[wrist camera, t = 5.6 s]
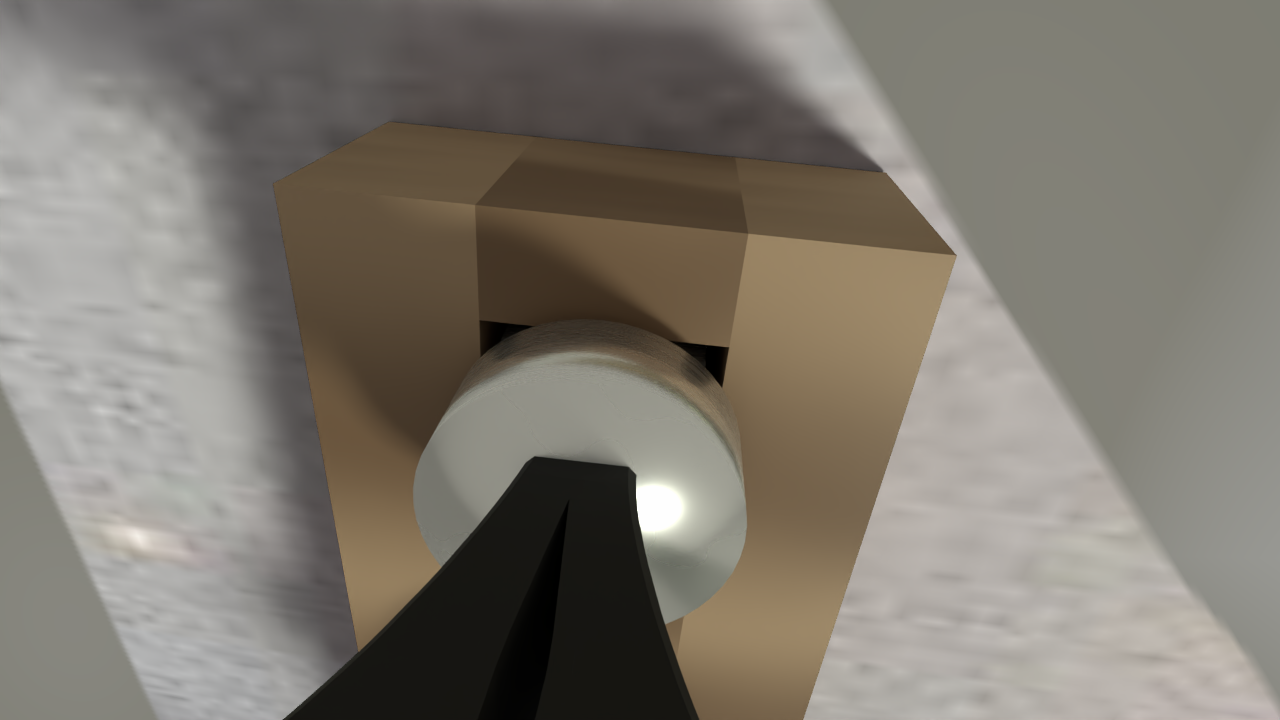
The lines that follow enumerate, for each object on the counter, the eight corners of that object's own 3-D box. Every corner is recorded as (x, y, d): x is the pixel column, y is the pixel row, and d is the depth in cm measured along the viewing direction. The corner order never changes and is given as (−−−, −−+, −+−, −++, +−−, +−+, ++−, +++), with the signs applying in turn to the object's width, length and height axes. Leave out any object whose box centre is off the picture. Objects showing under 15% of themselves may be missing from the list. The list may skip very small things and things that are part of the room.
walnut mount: (720, 807, 23) (724, 958, 20) (450, 774, 23) (406, 917, 20) (886, 172, 13) (956, 255, 9) (389, 121, 13) (272, 183, 9)
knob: (714, 429, 15) (721, 651, 10) (512, 406, 15) (425, 616, 10) (747, 235, 13) (775, 402, 8) (510, 210, 13) (398, 360, 8)
